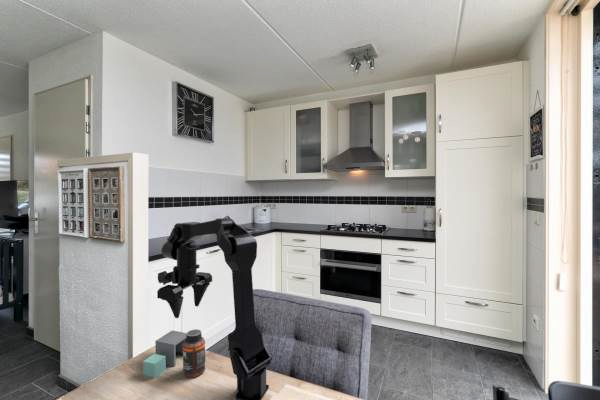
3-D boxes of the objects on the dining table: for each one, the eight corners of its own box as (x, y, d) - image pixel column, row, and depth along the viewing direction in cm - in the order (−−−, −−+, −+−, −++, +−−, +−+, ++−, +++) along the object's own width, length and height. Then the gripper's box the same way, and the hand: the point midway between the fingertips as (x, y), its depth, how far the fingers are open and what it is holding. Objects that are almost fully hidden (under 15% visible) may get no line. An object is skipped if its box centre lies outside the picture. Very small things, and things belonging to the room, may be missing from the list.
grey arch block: (190, 354, 91) (189, 333, 91) (174, 366, 84) (174, 344, 84) (172, 350, 93) (172, 330, 93) (155, 362, 86) (155, 340, 86)
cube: (165, 369, 83) (165, 355, 83) (154, 378, 79) (154, 363, 79) (154, 367, 84) (154, 353, 84) (143, 375, 81) (143, 361, 80)
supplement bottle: (209, 366, 85) (208, 328, 84) (200, 379, 79) (199, 338, 78) (189, 364, 85) (189, 326, 85) (179, 377, 79) (178, 337, 79)
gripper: (185, 254, 102) (186, 298, 103) (141, 267, 84) (142, 320, 85) (213, 256, 99) (213, 302, 99) (173, 271, 81) (173, 326, 82)
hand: (187, 311), depth 91 cm, fingers open, 9 cm apart
